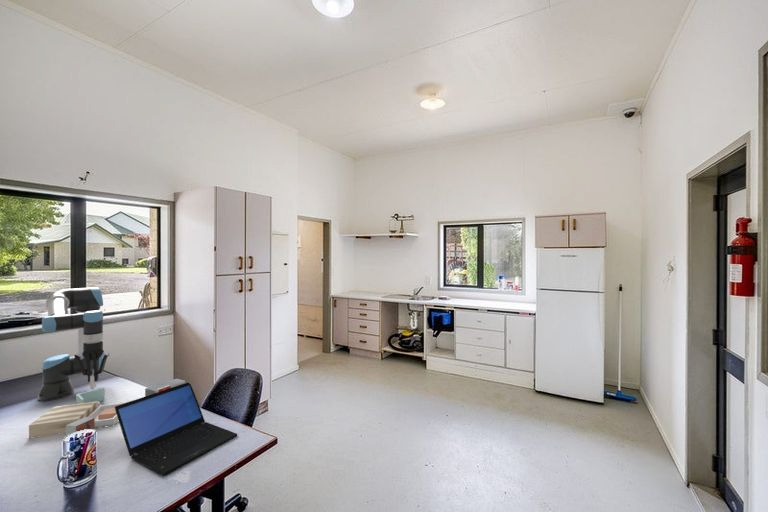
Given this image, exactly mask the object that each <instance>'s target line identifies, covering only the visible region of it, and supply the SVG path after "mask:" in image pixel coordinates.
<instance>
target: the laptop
mask: <svg viewBox="0 0 768 512" xmlns="http://www.w3.org/2000/svg"><path fill="white" fill-rule="evenodd" d="M197 399H198V398H197V397H196V394H195V392H194V389H193V387H192V384H191V383H190V382H185V384H182V385H179V386H175V387H172V388H169V389H166V390H163V391H160V392H157V393H154V394H151V395H148V396H145V395H144V396H143V397H139V398H137V399H133V400H131V401H127V403H125V402H123V403H124V404H121V405H118V406H115V410H116V414H117V417H118V420H119V421H118V424H119V426H120V430H121V433H122V436H123V438H124V442H125V446H126V449H127V452H128V456H129V457H130V458H131V460H133V461H134V462H137V463H138V464H140V465H142V466H144V467H146V468H147V469H149V470H151V471H153V472H155V473H157V474H159V475H161V476H166V475H168V474H170V473H171V472H173V471H176V470H177V469H178V468H180V467H183V466H184V465H186V464H188V463H190V462H191V461H193V460H195V459H197V458H198V457H200V456H202V455H204V454H206V453H208V452H210V451H212V450H214V449H216V448H217V447H219V446H221V445H223V444H225V443H227V442H228V441H230V440H232V439H234V438H235V437H238V433H236V432H233V431H231V430H228V429H225V428H223V427H220V426H218V425H214V424H212V423H209V422H207V421H206V420H205V418H204V416H203V413H202V409H201V407H200V404H199V402H198V400H197Z"/></svg>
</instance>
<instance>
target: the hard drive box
mask: <svg viewBox="0 0 768 512" xmlns="http://www.w3.org/2000/svg"><path fill="white" fill-rule="evenodd" d="M185 383H186V380H183V379H180V378H173V379H170V380H168V381H164V382H162V383H158V384H155V385H152V386H149V387H146V388H145V389H144V391H145V393H144V397H145V396H148V395H151V394H154V393H157V392H160V391H163V390H166V389H169V388H172V387H175V386H179V385H182V384H185Z"/></svg>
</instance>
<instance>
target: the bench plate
mask: <svg viewBox="0 0 768 512" xmlns="http://www.w3.org/2000/svg"><path fill="white" fill-rule="evenodd" d="M98 407H99V406H98V401H96V402H88V403H80V404H76V403H75V404H74V403H73V404H72V403H71V404H64V405H57V406H53V407H52V408H50V409H49V410H48V411H46V412H44V414H42V415H41V416H40V417H38V418H36V419H35V420H34V421H32V422H31V423H30V424H28V439H31V438H30V437H34V438H39V436H41V437H46V436H54V435H60V434H66V433H65V432H66V425H68V424H70V423H73V422H75V421H77V420H80V419H82V418H84V417H88V416H89V415H90V414H91V413H92V412H94V411H95V410H96V409H97V408H98Z"/></svg>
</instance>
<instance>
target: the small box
mask: <svg viewBox="0 0 768 512" xmlns="http://www.w3.org/2000/svg"><path fill="white" fill-rule="evenodd" d="M84 429H95V418H91V417H84V418H82V419H80V420H77V421H75V422H73V423H70V424H68V425H66V433H65V437H66V436H67V435H68V434H71V433H73V432H76V431H80V430H84Z"/></svg>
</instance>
